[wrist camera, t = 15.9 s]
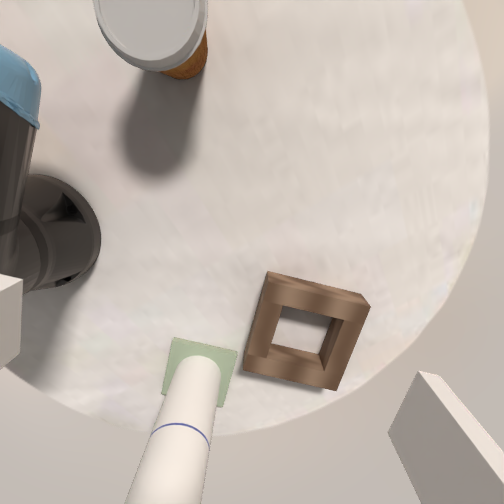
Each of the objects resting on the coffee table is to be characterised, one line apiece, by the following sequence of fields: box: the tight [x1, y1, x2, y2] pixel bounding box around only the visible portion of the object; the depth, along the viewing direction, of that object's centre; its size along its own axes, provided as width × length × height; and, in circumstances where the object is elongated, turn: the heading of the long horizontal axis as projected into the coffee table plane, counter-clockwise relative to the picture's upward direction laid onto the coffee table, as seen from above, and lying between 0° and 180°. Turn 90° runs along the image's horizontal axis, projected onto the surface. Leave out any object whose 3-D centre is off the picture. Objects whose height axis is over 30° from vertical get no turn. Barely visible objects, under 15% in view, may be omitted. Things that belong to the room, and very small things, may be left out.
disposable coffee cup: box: [93, 0, 208, 79], centre depth 31 cm, size 10×10×12 cm
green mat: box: [161, 337, 238, 407], centre depth 49 cm, size 10×10×1 cm
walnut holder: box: [243, 271, 371, 391], centre depth 45 cm, size 14×14×4 cm
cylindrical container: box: [125, 356, 221, 504], centre depth 36 cm, size 7×7×25 cm
